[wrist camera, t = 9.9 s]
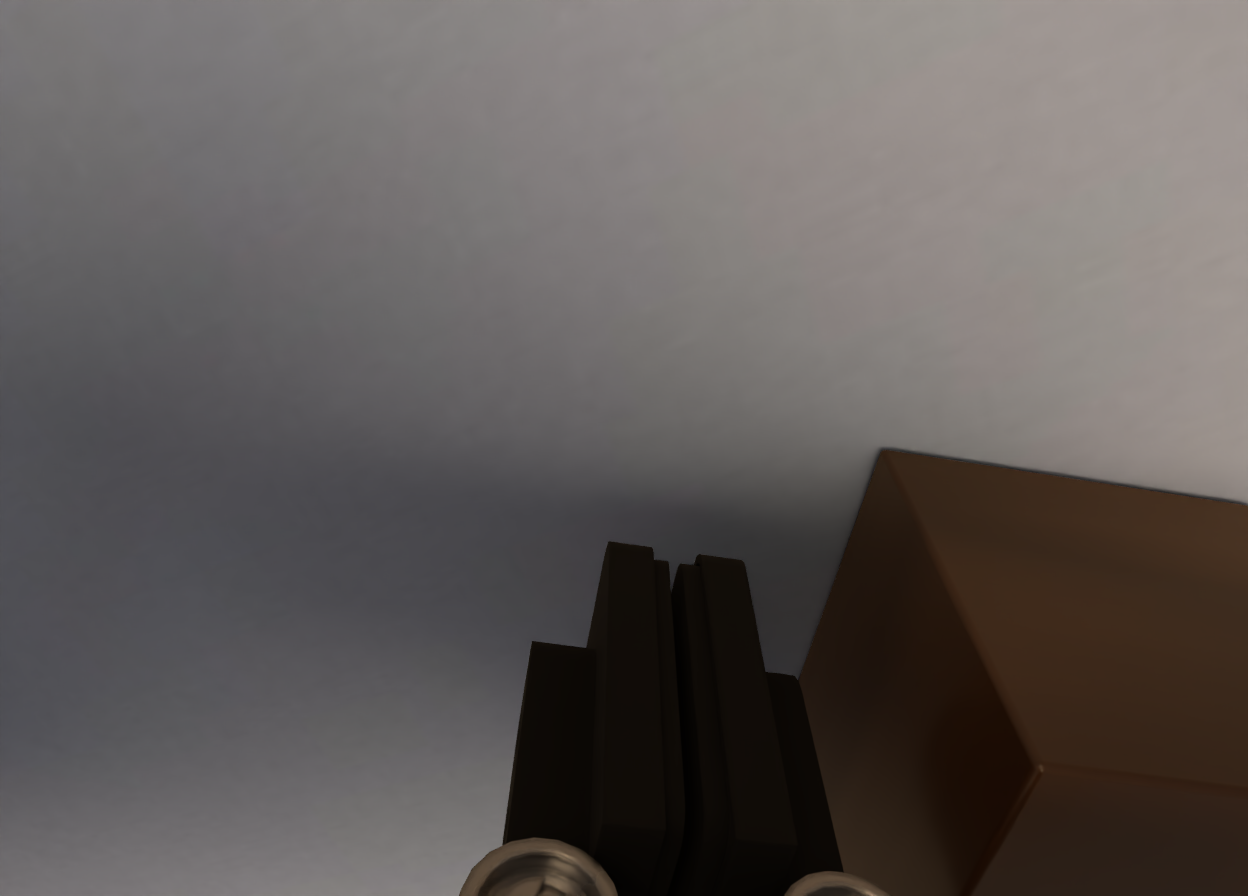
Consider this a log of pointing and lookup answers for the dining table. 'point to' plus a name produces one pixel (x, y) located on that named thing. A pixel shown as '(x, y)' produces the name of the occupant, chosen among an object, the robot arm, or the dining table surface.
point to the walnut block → (1035, 687)
